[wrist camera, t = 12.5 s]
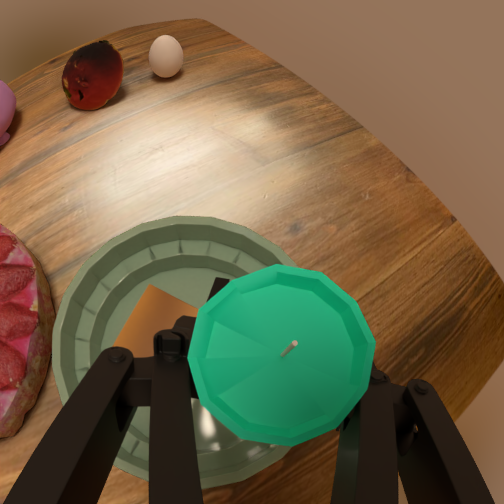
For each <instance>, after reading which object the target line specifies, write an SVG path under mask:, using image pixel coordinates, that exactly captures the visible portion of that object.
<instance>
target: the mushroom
mask: <svg viewBox="0 0 504 504" xmlns="http://www.w3.org/2000/svg"><path fill="white" fill-rule="evenodd" d="M123 73H124V66H123V59H122V57H121V54H120V52H119V51H118V50H117V49H115V47H114V46H113V45H112V44H109V42H108V41H107V40H106V41H105V40H103V41H99V43H98V42H95V43H92V44H90V45H87V46H84V47H82V48H80V49H79V50H77V51H74V53H73V55H72V56H71V57H70V59H69V60H68V62H67V64H66V66H65V68H64V71H63V75H62V85H63V90H64V92H65V94H66V97H67V98H68V101H69V102H70V103H71V104H72V105H73V106H75V107H77V108H79V109H83V110H94V109H98V108H100V107H102V106H103V105H105V104H106V103H107V102H108V100H110V99H111V98H112V97H114V95H115V94H116V92H117V91H118V89H119V87H120V85H121V82H122V78H123Z"/></svg>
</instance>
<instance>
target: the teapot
mask: <svg viewBox="0 0 504 504" xmlns="http://www.w3.org/2000/svg"><path fill="white" fill-rule="evenodd" d="M15 108H16V98H15V96H14V94H13V92H12V91H11V89H10V88H9V87H8V86H7V85H6V84H5V83H4V82H3V81H1V80H0V146H1V145H3V144H4V143H6V142H7V141H8V139H9V137H10V134H8V133H7V132H6V130H7V129H8V127H9V126H10V124H11V122H12V119H13V116H14V112H15Z"/></svg>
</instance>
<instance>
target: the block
mask: <svg viewBox="0 0 504 504" xmlns="http://www.w3.org/2000/svg"><path fill="white" fill-rule="evenodd" d="M198 310H199V309H197V308H195V307H194V306H192V305H190V304H188V303H186V302H184V301H182V300H180V299H178V298H176V297H174V296H172V295H170V294H168V293H166V292H165V291H163V290H161V289H159V288H157V287H155V286H153V285H151V284H149V285H148V287H147V288H146V290H145V291H144V293H143V295H142V296H141V298H140V300H139V301H138V303H137V305H136V306H135V308H134V310H133V311H132V313H131V315H130V317H129V318H128V320H127V322H126V323H125V325H124V327H123V329H122V330H121V332H120V334H119V335H118V337H117V339H116V341H115V342H114V344H113V346H112V347H114V346H119V347H124V348H127V349H129V350H130V351H131V352H132V354H133V356H134V357H151V356H154V348H153V337H154V335H155V333H157V332H158V331H161V330H164V329H172V328H173V326H174V324H175V322H176V320H177V319H178V318H180V317H181V316H183V315H186V316H192V317H197V314H198Z"/></svg>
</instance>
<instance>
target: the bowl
mask: <svg viewBox="0 0 504 504" xmlns="http://www.w3.org/2000/svg"><path fill="white" fill-rule="evenodd" d="M275 264H280V265H286V266H291V267H296V268H299V267H298V266H297V265H296V264H295V263H294V261H293V260H292V259H291V258H290V257H289V256H288V255H287V254H286V253H285V252H284V251H283V250H282V249H281V248H280V247H278V246H277V245H276V244H274V243H272V242H271V241H269V240H267V239H266V238H264V237H262V236H261V235H259V234H257V233H256V232H254V231H252V230H251V229H249V228H247V227H245V226H241V225H238V224H234V223H231V222H227V221H224V220H221V219H217V218H214V217H198V216H173V217H168V218H164V219H159V220H155V221H151V222H146V223H142V224H140V225H138V226H136V227H134V228H132V229H130V230H128V231H126V232H124V233H122V234H120V235H118V236H116V237H114V238H113V239H111V240H110V241H108V242H107V243H106V244H104V245H103V246H102V247H101V248H100V249H99V250H98V251H97V252H96V253H94V254H93V255H92V256H91V257H90V258H89V259H88V260H87V261H86V262H85V263H84V264H83V265H82V266H81V268H80V269H79V271H78V272H77V274H76V275H75V277H74V279H73V280H72V282H71V283H70V285H69V286H68V288H67V290H66V291H65V293H64V295H63V298H62V301H61V304H60V307H59V310H58V314H57V317H56V320H55V324H54V327H53V333H52V367H53V368H52V369H53V373H54V377H55V381H56V384H57V388H58V391H59V395H60V398H61V402H62V405H63V406H64V405H65V403H66V402H67V400H68V399H69V397H70V396H71V394H72V393H73V392H74V390H75V389H76V387H77V386H78V384H79V383H80V381H81V380H82V379H83V377H84V376H85V374H86V373H87V372H88V370H89V369H90V367H91V366H92V365H93V363H94V362H95V360H96V359H97V358H98V356H99V355H100V353H101V352H102V351H103V350H105V349H106V348H109V347H112V346H113V344H114V342H115V341H116V339H117V337H118V335H119V334H120V332H121V330H122V329H123V327H124V325H125V323H126V322H127V320H128V318H129V317H130V315H131V313H132V311H133V310H134V308H135V306H136V305H137V303H138V301H139V300H140V298H141V296H142V295H143V293H144V291H145V290H146V288H147V287H148V285H149V284H151V285H153V286H155V287H157V288H159V289H161V290H163V291H165V292H166V293H168V294H170V295H172V296H174V297H176V298H178V299H180V300H182V301H184V302H186V303H188V304H190V305H192V306H194V307H195V308H197V309H200V308H201V307H202V306H203V305H204V304H205V303H206V302H207V299H208V296H209V294H210V291H211V288H212V286H213V283H214V280H215V278H216V277H220V278H226V279H230V280H229V282H230V281H232V280H234V279H237V278H239V277H242V276H245V275H247V274H250V273H253V272H256V271H258V270H261V269H264V268H266V267H269V266H272V265H275ZM191 401H192V412H193V423H194V432H195V442H196V450H197V459H198V467H199V475H200V482H201V489H206V488H211V487H217V486H221V485H226V484H231V483H235V482H239V481H243V480H245V479H247V478H249V477H251V476H252V475H254V474H256V473H258V472H260V471H261V470H263V469H265V468H266V467H268V466H270V465H272V464H273V463H275V462H277V461H278V460H280V459H281V458H282V457H283V456H284V455H285V454H286V453H287V452H288V451H289V450H290V449H291V448H292V447H293V446H292V447H290V446H283V445H276V444H269V443H262V442H256V441H251V440H245V439H240V438H239V437H238V436H237V435H236V434H234V433H233V432H232V431H231V430H229V429H228V428H227V427H226V426H225V425H224V424H222V423H221V422H220V421H219V420H218V419H217V418H215V417H214V416H213V415H212V414H211V413H210V412H208V411H207V410H206V409H205V408H204V407H203V406H202V405H201V403H200V400H199V399H194V398H191ZM149 424H150V406H149V407H138V408H137V410H136V413H135V415H134V417H133V419H132V422H131V424H130V426H129V429H128V431H127V433H126V435H125V438H124V440H123V442H122V445H121V447H120V449H119V452H118V454H117V456H116V459H115V461H114V463H113V465H114V466H115V467H117V468H119V469H121V470H123V471H125V472H127V473H130V474H132V475H134V476H136V477H139V478H141V479H143V480H146V481H148V482H149Z"/></svg>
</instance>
